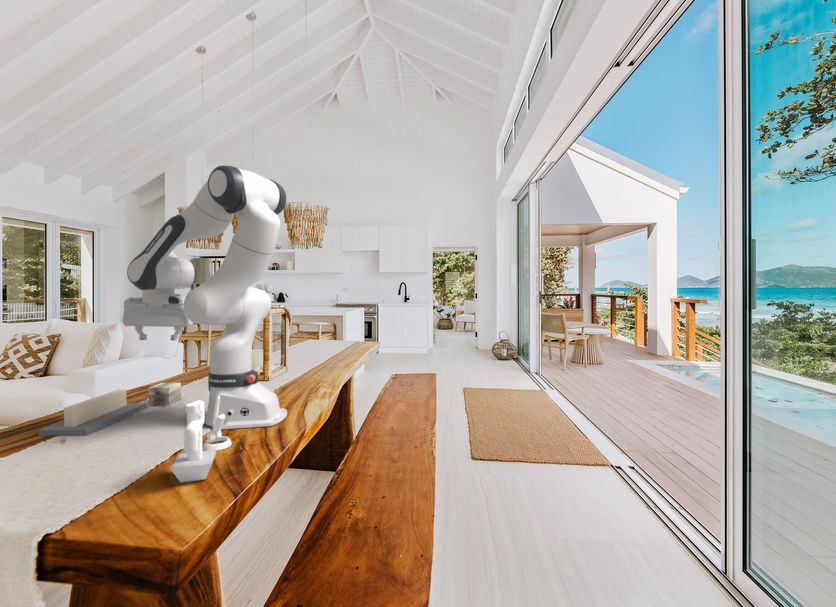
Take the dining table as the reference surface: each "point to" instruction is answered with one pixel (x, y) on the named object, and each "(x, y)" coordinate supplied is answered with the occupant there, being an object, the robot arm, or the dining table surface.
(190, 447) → the figurine
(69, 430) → the cleat board
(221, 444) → the hook
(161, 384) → the cabinet block
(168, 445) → the dining table surface
